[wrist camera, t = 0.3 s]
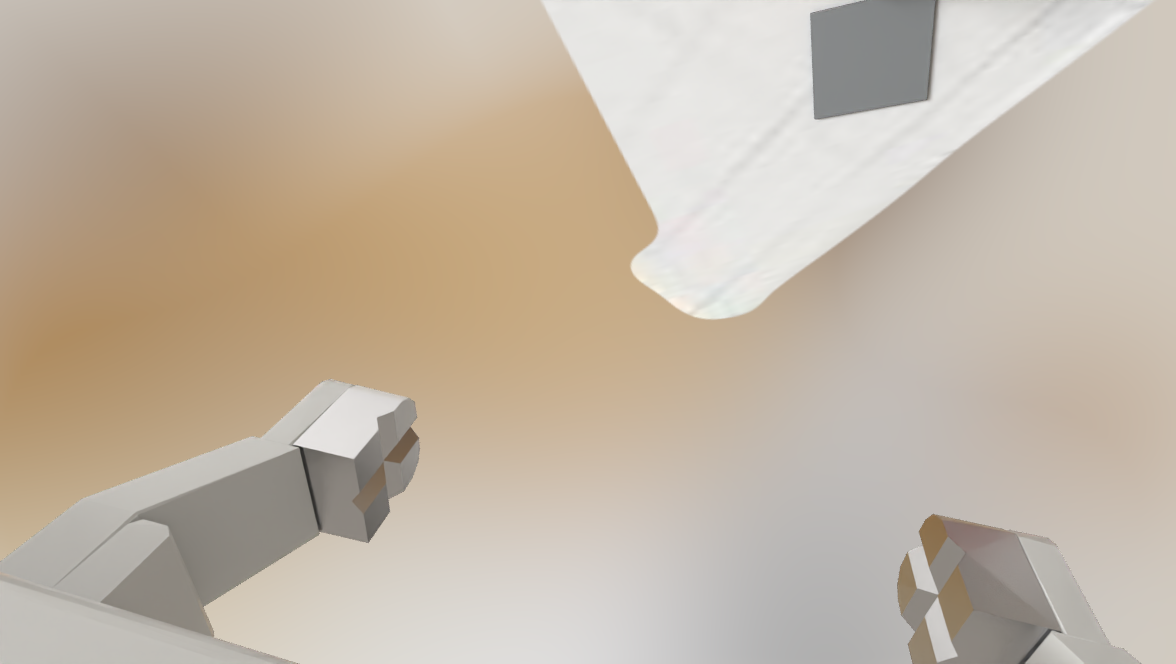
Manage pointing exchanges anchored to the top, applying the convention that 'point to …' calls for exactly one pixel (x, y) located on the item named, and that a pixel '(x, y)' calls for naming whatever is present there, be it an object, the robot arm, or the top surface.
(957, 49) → the top surface
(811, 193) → the top surface
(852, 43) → the slate mat
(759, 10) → the top surface
